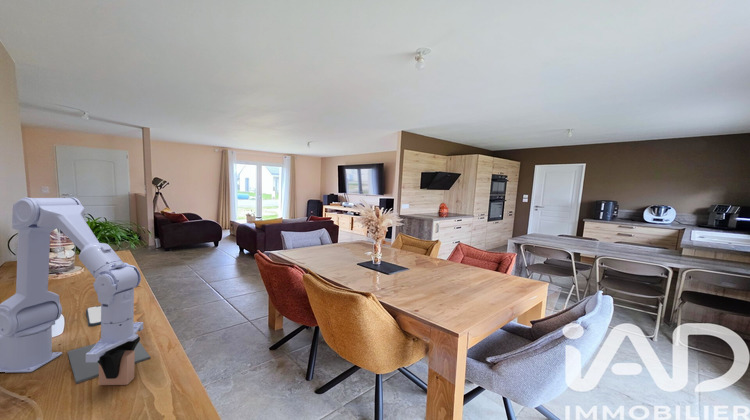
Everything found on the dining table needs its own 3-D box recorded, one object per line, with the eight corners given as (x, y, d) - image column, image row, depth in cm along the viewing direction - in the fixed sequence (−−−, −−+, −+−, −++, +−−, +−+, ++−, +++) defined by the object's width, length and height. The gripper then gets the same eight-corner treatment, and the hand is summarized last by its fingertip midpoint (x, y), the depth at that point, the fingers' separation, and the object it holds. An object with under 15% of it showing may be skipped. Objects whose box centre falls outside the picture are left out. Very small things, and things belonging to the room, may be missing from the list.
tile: (98, 385, 66) (98, 356, 65) (107, 377, 68) (107, 350, 68) (126, 384, 67) (127, 356, 66) (134, 377, 69) (135, 350, 69)
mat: (150, 358, 77) (150, 356, 77) (76, 384, 66) (76, 381, 66) (133, 334, 88) (133, 333, 88) (67, 353, 77) (67, 351, 77)
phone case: (124, 321, 97) (118, 305, 108) (124, 316, 97) (118, 301, 108) (88, 329, 91) (85, 312, 101) (88, 324, 91) (85, 307, 101)
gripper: (111, 333, 60) (111, 394, 61) (156, 306, 74) (155, 355, 75) (74, 333, 59) (74, 395, 60) (126, 305, 73) (126, 355, 74)
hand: (117, 373), depth 67 cm, fingers closed on tile, 2 cm apart
